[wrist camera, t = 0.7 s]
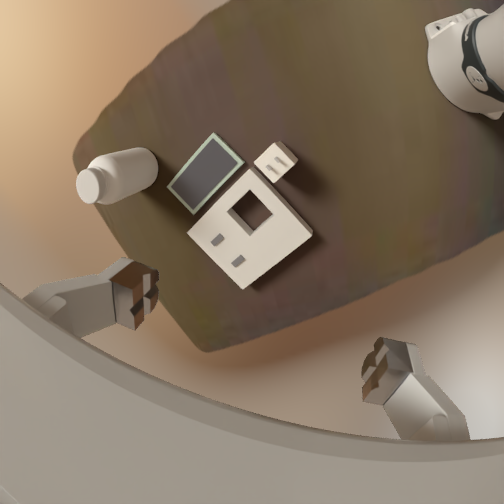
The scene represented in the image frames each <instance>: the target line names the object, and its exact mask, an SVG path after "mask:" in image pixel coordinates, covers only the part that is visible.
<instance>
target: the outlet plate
mask: <svg viewBox="0 0 504 504" xmlns="http://www.w3.org/2000/svg"><path fill="white" fill-rule="evenodd" d="M249 190H251V191H252V192H253V193H254V194H255V195H256V196H257V197H258V198H259V199H260V200H261V201H262V202H263V204H264V205H265V206H266V207H267V208H268V209H269V210H270V211H271V212H272V213H273V215H272V216H270V217H269V218H268V219H267V220H266V221H265V222H264V223H262V224H261V225H260V226H259V227H258V228H257V229H256V230H254V231H253V230H252V229H251V228H250V227H249V226H248V225H247V224H246V223H245V222H244V221H243V219H242V218H241V217H240V216H239V215H238V214H237V213H236V212H235V211H234V210H233V209H232V208H231V207H232V206H233V205H234V204H235V203H236V202H237V201H239V200H240V199H241V198H242V197H243V196H244V195H245V194H246V193H247V192H248V191H249ZM312 233H313V230H312V229H311V228H310V227H309V225H308V224H307V223H306V222H305V221H304V220H303V219H302V218H301V217H300V215H299V214H298V213H297V212H296V211H295V210H294V209H293V208H292V207H291V206H290V205H289V203H288V202H287V201H286V200H285V199H284V198H283V197H282V196H281V195H280V194H279V193H278V192H277V191H276V189H275V188H274V187H273V186H272V185H271V184H270V183H269V182H268V181H267V180H266V179H265V178H264V177H263V176H262V175H261V174H260V173H259V172H258V171H257V170H256V169H255V168H254V167H252V168H250V169H249V170H248V171H247V172H246V173H245V174H244V175H243V176H242V177H241V178H240V179H239V180H238V181H237V182H236V183H235V184H234V185H233V186H232V187H231V188H230V189H229V190H228V191H227V192H226V193H225V194H224V195H223V196H222V197H221V198H220V199H219V200H218V201H217V202H216V203H215V204H214V205H213V206H212V207H211V208H210V209H209V210H208V211H207V212H206V213H205V214H204V215H203V217H202V218H201V219H200V220H199V221H198V222H197V223H196V224H195V225H194V226H193V227H192V228H191V229H190V230H189V231H188V232H187V234H188V235H189V236H190V237H191V238H192V239H193V240H194V241H195V242H196V243H197V244H198V245H199V246H200V247H201V248H202V249H203V250H204V251H205V252H206V253H207V254H208V255H209V256H210V257H211V258H212V259H213V260H214V261H215V262H216V263H217V264H218V265H219V266H220V267H221V268H222V269H223V270H224V271H225V272H226V273H227V274H228V275H229V276H230V277H231V278H232V279H233V280H234V281H235V282H236V283H237V284H238V285H239V286H240V287H241V288H242V289H244V288H245V287H247V286H248V285H249V284H251V283H252V282H253V281H255V280H256V279H257V278H258V277H260V276H261V275H262V274H264V273H265V272H266V271H268V270H269V269H270V268H271V267H273V266H274V265H275V264H277V263H278V262H279V261H281V260H282V259H283V258H284V257H286V256H287V255H288V254H290V253H291V252H292V251H293V250H295V249H296V248H297V247H299V246H300V245H301V244H302V243H304V242H305V241H306V240H307V239H309V238H310V237H311V236H312Z"/></svg>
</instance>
